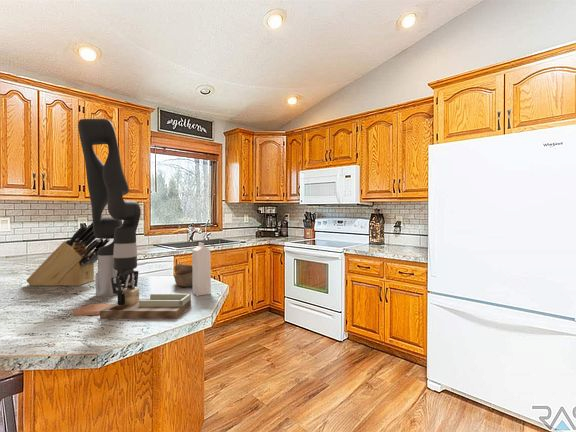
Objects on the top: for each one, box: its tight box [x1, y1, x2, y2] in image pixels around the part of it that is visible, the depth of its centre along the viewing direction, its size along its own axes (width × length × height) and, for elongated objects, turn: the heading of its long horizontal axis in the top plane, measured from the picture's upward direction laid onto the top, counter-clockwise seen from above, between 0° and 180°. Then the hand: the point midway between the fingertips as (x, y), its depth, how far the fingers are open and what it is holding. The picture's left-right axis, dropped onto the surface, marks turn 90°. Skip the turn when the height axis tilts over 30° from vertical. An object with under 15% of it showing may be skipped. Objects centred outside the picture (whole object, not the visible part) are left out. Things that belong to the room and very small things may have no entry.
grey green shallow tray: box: [139, 293, 192, 307], centre depth 111 cm, size 15×9×2 cm, turn 89°
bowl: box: [173, 263, 193, 288], centre depth 147 cm, size 18×14×10 cm
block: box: [124, 288, 140, 305], centre depth 111 cm, size 4×4×4 cm
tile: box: [73, 303, 114, 316], centre depth 110 cm, size 9×9×1 cm
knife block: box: [25, 221, 111, 287], centre depth 153 cm, size 11×35×31 cm, turn 89°
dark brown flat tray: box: [99, 298, 192, 320], centre depth 108 cm, size 26×14×2 cm, turn 89°
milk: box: [191, 241, 212, 297], centre depth 133 cm, size 6×6×22 cm
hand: (125, 302), depth 111 cm, fingers open, 5 cm apart
